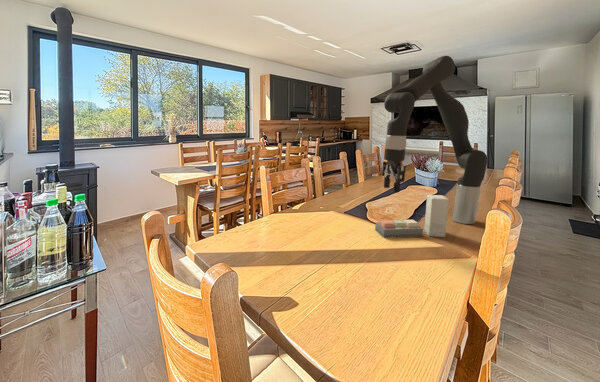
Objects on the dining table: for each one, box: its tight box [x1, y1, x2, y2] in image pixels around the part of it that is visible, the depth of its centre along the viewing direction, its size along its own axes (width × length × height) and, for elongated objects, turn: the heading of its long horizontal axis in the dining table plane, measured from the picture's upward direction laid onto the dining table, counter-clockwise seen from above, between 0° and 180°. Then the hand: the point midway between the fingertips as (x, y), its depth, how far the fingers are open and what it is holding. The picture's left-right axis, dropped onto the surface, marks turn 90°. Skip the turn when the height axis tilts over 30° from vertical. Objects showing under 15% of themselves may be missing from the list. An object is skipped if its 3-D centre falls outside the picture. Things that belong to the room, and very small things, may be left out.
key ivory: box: [403, 219, 419, 227], centre depth 117 cm, size 4×4×2 cm
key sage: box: [391, 219, 406, 228], centre depth 117 cm, size 4×4×2 cm
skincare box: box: [423, 194, 450, 238], centre depth 116 cm, size 8×7×16 cm
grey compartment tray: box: [374, 221, 424, 239], centre depth 117 cm, size 16×9×3 cm, turn 97°
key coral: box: [379, 219, 394, 228], centre depth 116 cm, size 4×4×2 cm
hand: (391, 189), depth 112 cm, fingers open, 7 cm apart
